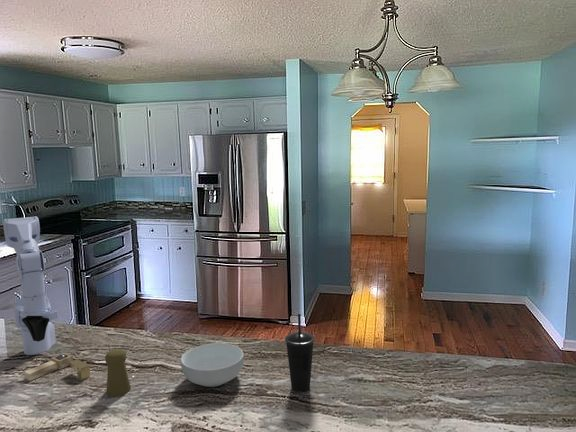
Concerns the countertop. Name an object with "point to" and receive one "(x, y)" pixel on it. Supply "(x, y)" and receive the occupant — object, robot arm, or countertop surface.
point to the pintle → (61, 356)
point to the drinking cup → (300, 358)
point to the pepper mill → (117, 373)
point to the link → (48, 367)
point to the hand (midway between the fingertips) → (39, 339)
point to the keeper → (81, 369)
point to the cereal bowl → (212, 364)
